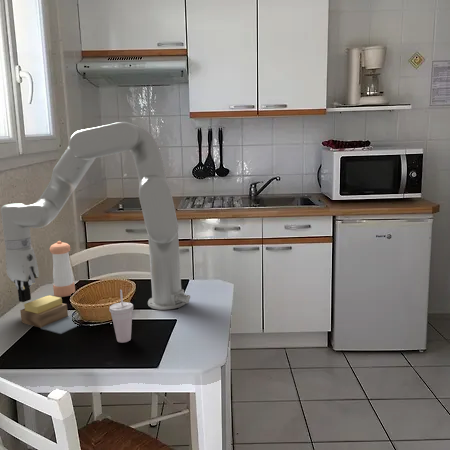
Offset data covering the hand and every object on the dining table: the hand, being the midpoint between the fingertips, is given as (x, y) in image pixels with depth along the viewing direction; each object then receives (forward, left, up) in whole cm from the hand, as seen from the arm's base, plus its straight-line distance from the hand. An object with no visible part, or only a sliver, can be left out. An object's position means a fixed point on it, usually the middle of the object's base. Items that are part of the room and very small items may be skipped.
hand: (25, 300), depth 155 cm
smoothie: (-41, 0, -5) cm, 42 cm away
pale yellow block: (-9, 0, -1) cm, 9 cm away
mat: (-18, 0, -5) cm, 19 cm away
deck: (-9, 0, -5) cm, 10 cm away
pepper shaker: (+6, -20, -5) cm, 21 cm away
